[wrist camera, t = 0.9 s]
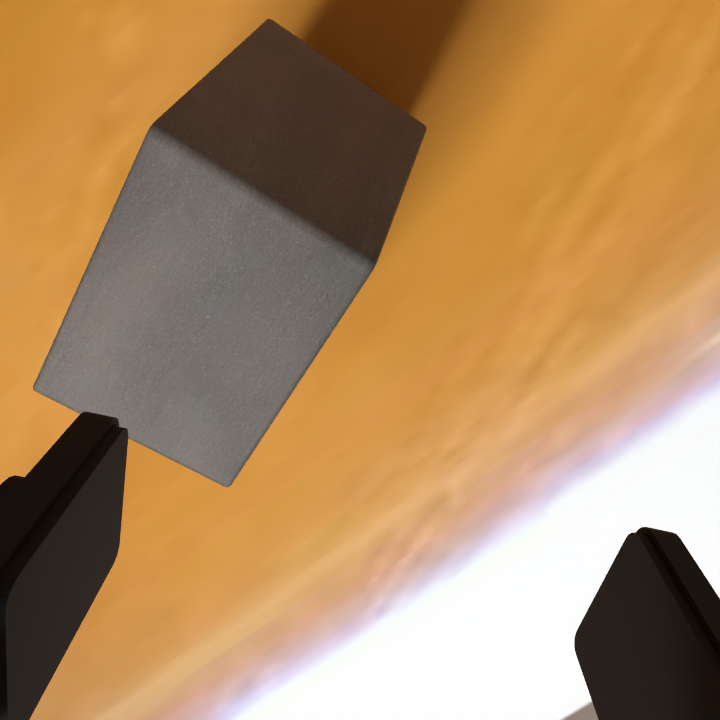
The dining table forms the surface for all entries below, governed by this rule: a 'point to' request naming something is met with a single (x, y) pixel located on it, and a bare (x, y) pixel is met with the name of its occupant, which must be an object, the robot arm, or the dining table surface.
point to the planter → (233, 252)
